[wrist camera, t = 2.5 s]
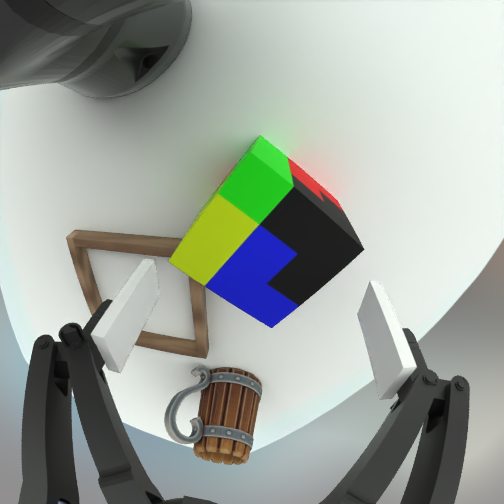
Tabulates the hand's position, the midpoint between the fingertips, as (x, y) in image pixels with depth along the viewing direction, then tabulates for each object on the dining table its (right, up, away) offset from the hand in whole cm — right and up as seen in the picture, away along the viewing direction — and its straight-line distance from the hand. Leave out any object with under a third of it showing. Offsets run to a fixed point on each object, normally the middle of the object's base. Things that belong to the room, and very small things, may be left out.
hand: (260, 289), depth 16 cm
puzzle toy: (+1, +7, +11) cm, 14 cm away
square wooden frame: (-16, -4, +19) cm, 25 cm away
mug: (-6, -19, +27) cm, 34 cm away
